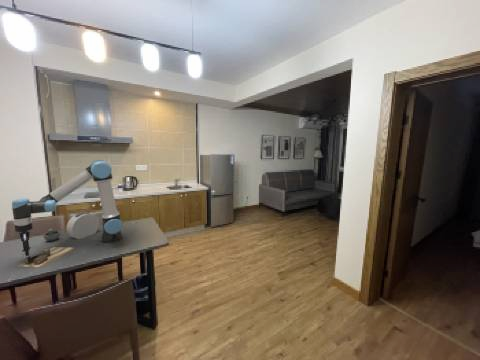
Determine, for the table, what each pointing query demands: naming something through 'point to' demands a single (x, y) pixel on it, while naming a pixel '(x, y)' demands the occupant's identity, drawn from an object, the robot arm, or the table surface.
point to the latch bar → (31, 258)
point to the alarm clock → (82, 225)
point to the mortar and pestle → (51, 235)
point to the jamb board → (48, 257)
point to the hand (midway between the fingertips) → (27, 259)
